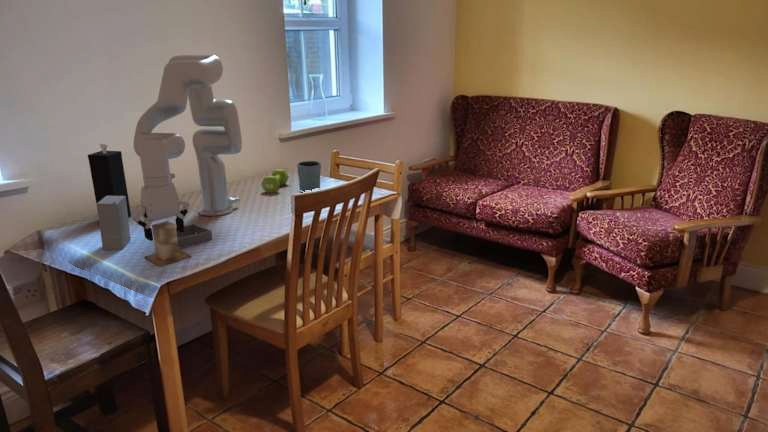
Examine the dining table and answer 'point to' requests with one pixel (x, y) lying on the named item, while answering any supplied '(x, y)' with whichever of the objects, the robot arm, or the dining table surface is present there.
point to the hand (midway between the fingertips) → (165, 235)
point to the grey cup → (309, 175)
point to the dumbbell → (274, 180)
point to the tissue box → (108, 174)
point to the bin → (200, 237)
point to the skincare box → (113, 222)
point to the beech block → (165, 240)
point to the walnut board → (162, 262)
